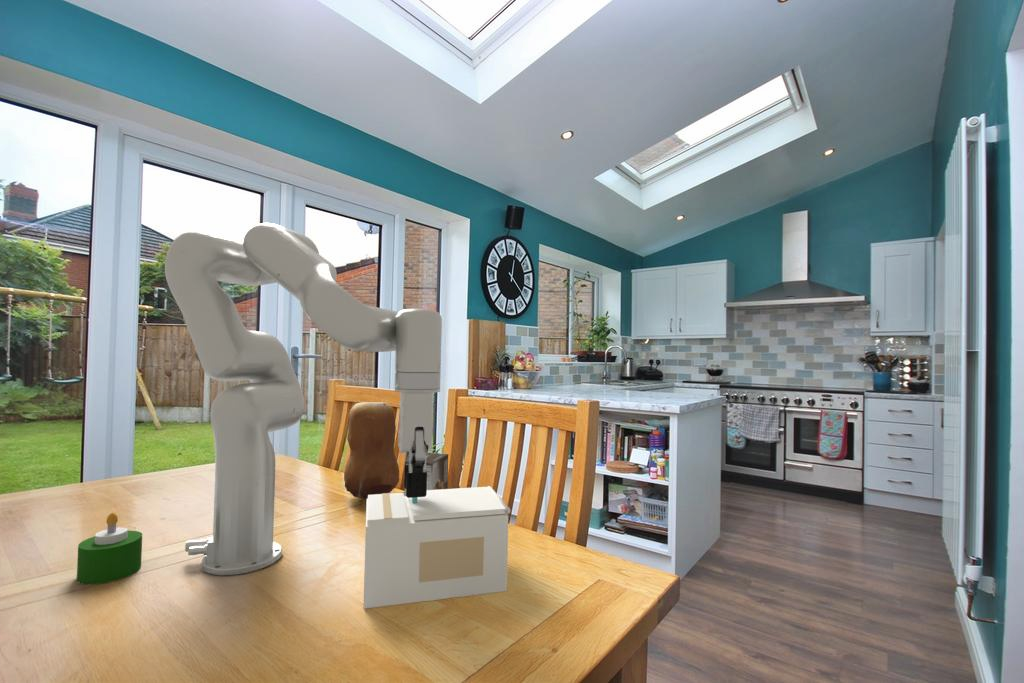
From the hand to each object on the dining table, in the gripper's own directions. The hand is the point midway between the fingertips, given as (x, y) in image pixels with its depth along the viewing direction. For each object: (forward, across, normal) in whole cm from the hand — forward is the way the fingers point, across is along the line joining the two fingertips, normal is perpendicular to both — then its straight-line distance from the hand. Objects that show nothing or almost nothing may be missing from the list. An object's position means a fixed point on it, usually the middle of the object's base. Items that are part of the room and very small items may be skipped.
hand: (414, 491), depth 80 cm
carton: (+15, 0, +3) cm, 15 cm away
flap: (+3, 0, +7) cm, 7 cm away
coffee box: (+15, -20, +4) cm, 25 cm away
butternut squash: (+15, -47, -7) cm, 50 cm away
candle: (+15, -15, -49) cm, 53 cm away
